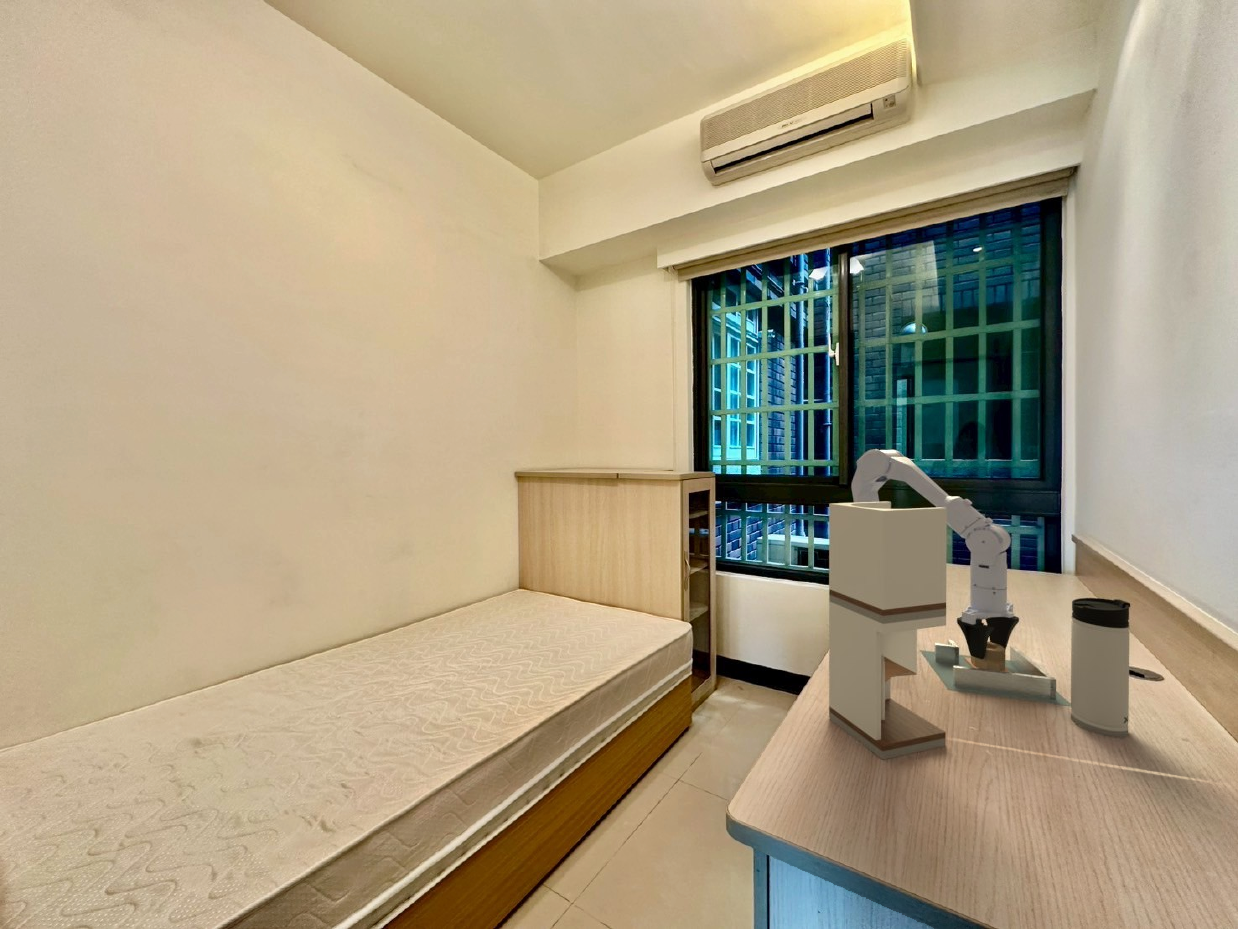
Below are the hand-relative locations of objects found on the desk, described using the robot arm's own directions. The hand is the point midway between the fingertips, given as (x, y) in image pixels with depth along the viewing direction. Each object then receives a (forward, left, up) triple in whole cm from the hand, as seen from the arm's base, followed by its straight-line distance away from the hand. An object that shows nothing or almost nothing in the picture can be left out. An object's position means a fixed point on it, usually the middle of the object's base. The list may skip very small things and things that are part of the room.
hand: (987, 653), depth 92 cm
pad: (0, 0, -3) cm, 3 cm away
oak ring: (0, 0, -2) cm, 2 cm away
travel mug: (+8, -18, -3) cm, 20 cm away
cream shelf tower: (-24, -30, -3) cm, 39 cm away
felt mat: (-2, -4, -3) cm, 5 cm away
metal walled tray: (-2, -4, -3) cm, 5 cm away
